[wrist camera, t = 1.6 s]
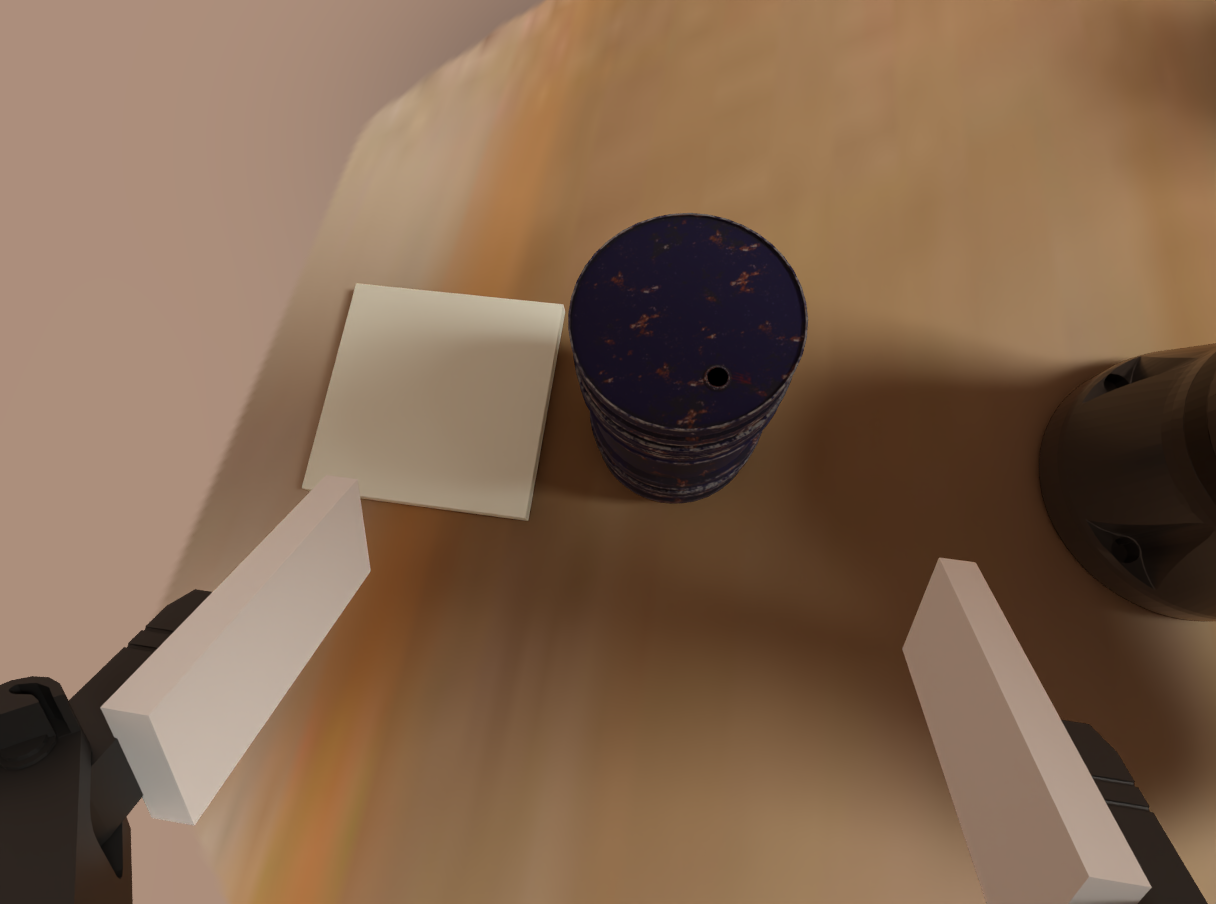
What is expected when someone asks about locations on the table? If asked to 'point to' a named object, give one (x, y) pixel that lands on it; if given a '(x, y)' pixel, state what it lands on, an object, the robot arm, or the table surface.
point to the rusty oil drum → (684, 350)
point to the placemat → (439, 400)
